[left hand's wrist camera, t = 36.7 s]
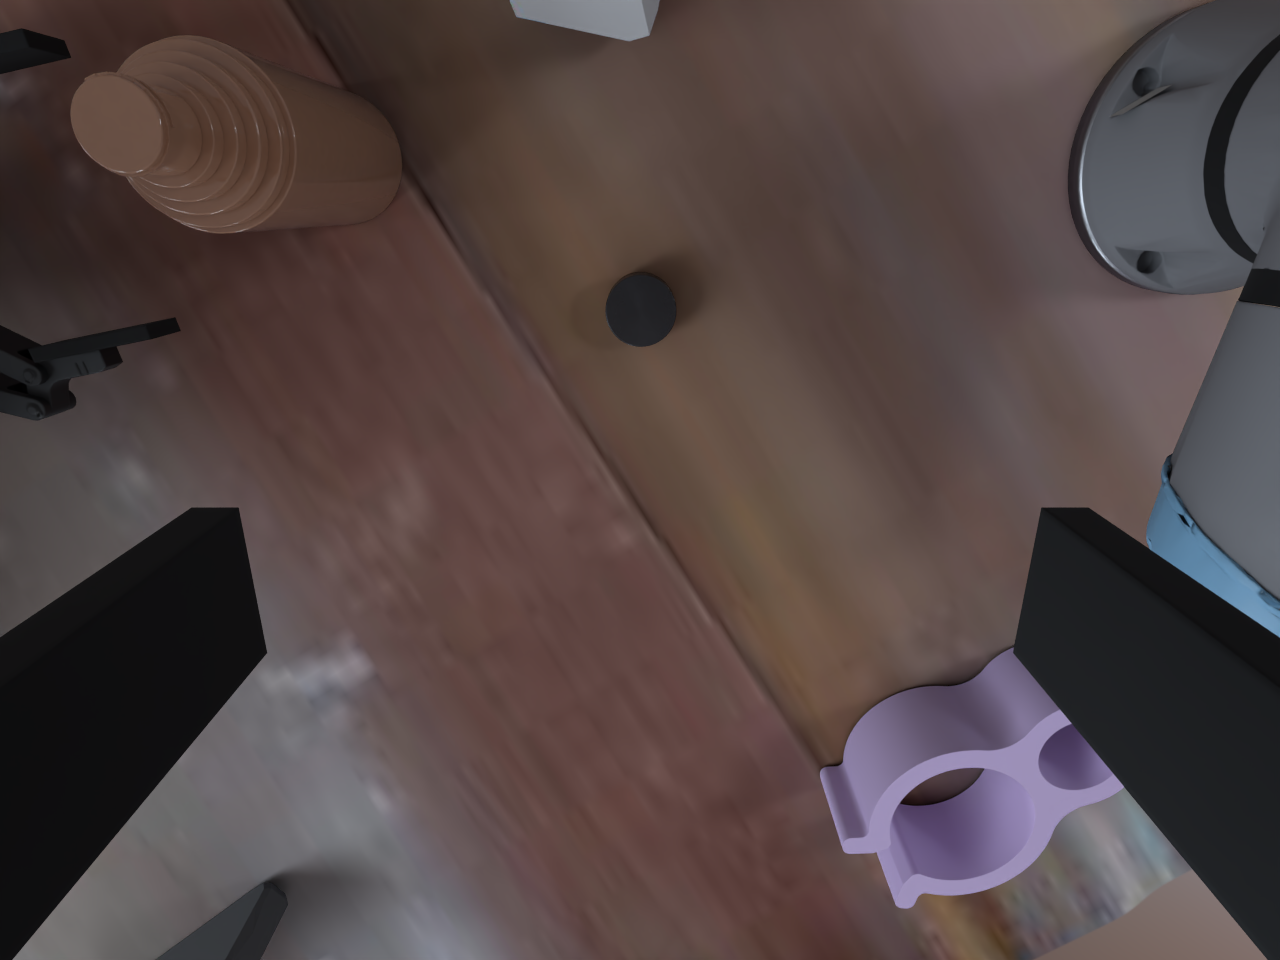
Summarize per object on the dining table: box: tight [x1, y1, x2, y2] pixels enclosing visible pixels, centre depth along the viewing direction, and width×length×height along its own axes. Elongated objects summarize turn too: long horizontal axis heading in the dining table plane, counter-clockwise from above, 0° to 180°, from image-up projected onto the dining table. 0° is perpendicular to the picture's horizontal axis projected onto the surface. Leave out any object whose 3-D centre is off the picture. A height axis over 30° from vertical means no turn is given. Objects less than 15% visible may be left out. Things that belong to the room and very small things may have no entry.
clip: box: [820, 647, 1124, 908], centre depth 54 cm, size 20×12×7 cm, turn 130°
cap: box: [606, 272, 676, 347], centre depth 45 cm, size 4×4×2 cm
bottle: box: [70, 35, 402, 234], centre depth 34 cm, size 7×7×20 cm
